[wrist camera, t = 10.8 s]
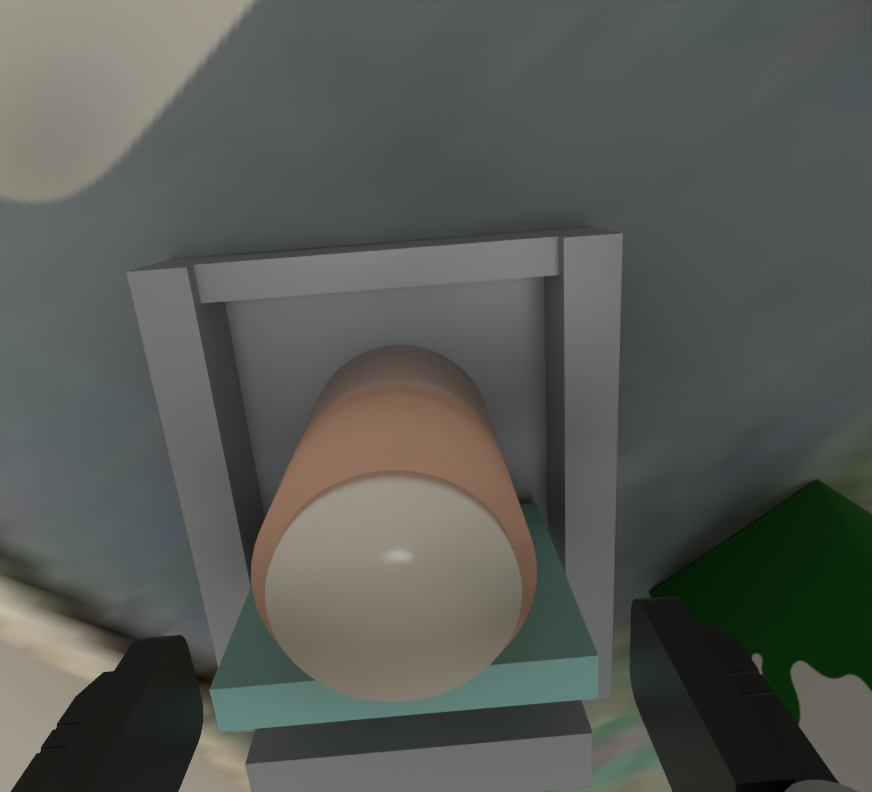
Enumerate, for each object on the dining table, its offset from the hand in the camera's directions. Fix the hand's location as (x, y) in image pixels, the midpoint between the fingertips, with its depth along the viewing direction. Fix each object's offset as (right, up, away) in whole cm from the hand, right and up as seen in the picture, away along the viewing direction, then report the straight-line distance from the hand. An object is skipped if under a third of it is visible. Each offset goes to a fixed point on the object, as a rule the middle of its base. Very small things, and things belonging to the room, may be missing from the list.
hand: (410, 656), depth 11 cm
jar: (-1, +4, +9) cm, 9 cm away
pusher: (0, -1, +10) cm, 10 cm away
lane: (-1, +2, +10) cm, 10 cm away
